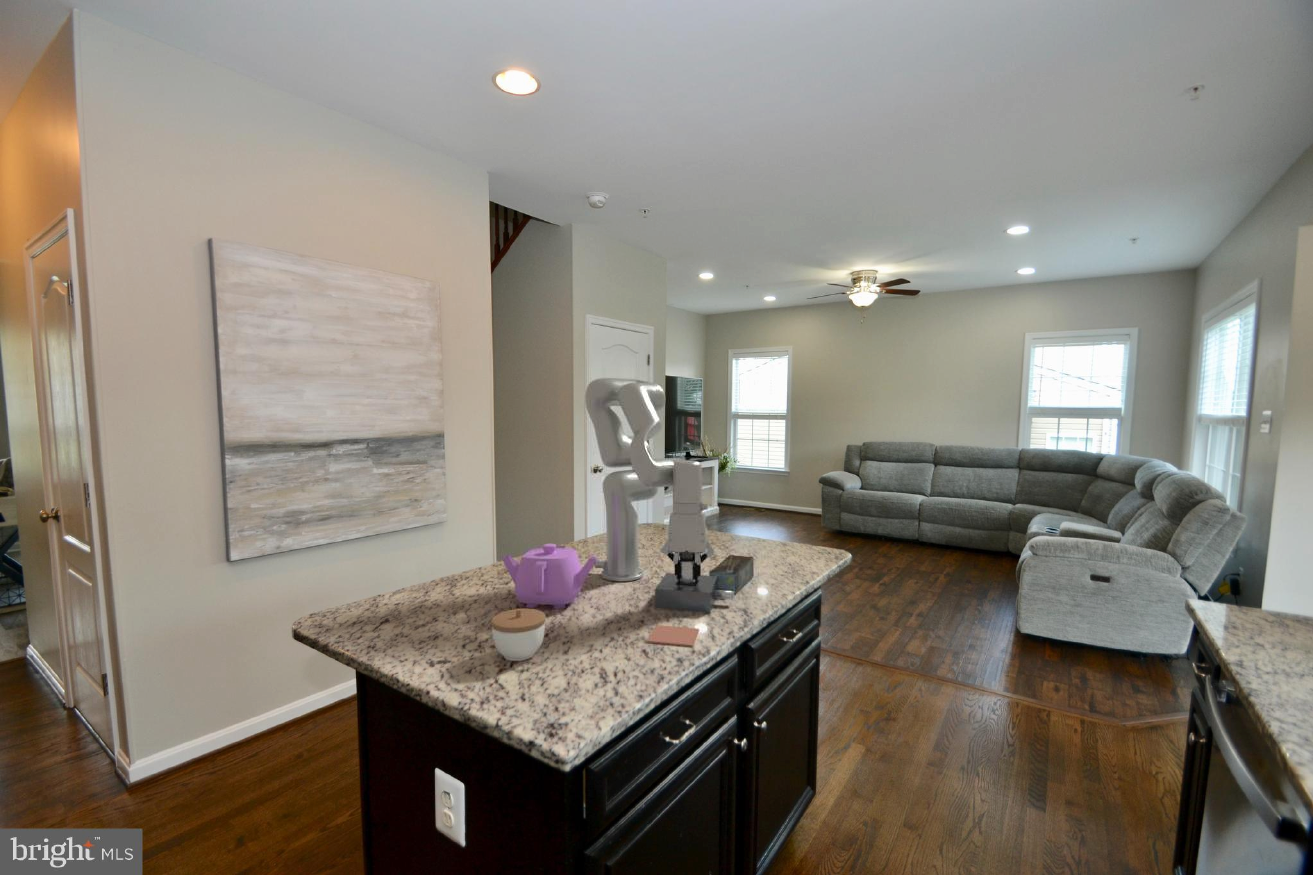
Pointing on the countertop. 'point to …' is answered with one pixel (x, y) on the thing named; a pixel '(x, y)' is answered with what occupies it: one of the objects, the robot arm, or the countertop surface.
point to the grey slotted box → (689, 594)
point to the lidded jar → (518, 633)
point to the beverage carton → (733, 573)
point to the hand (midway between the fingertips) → (687, 577)
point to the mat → (673, 635)
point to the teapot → (548, 575)
